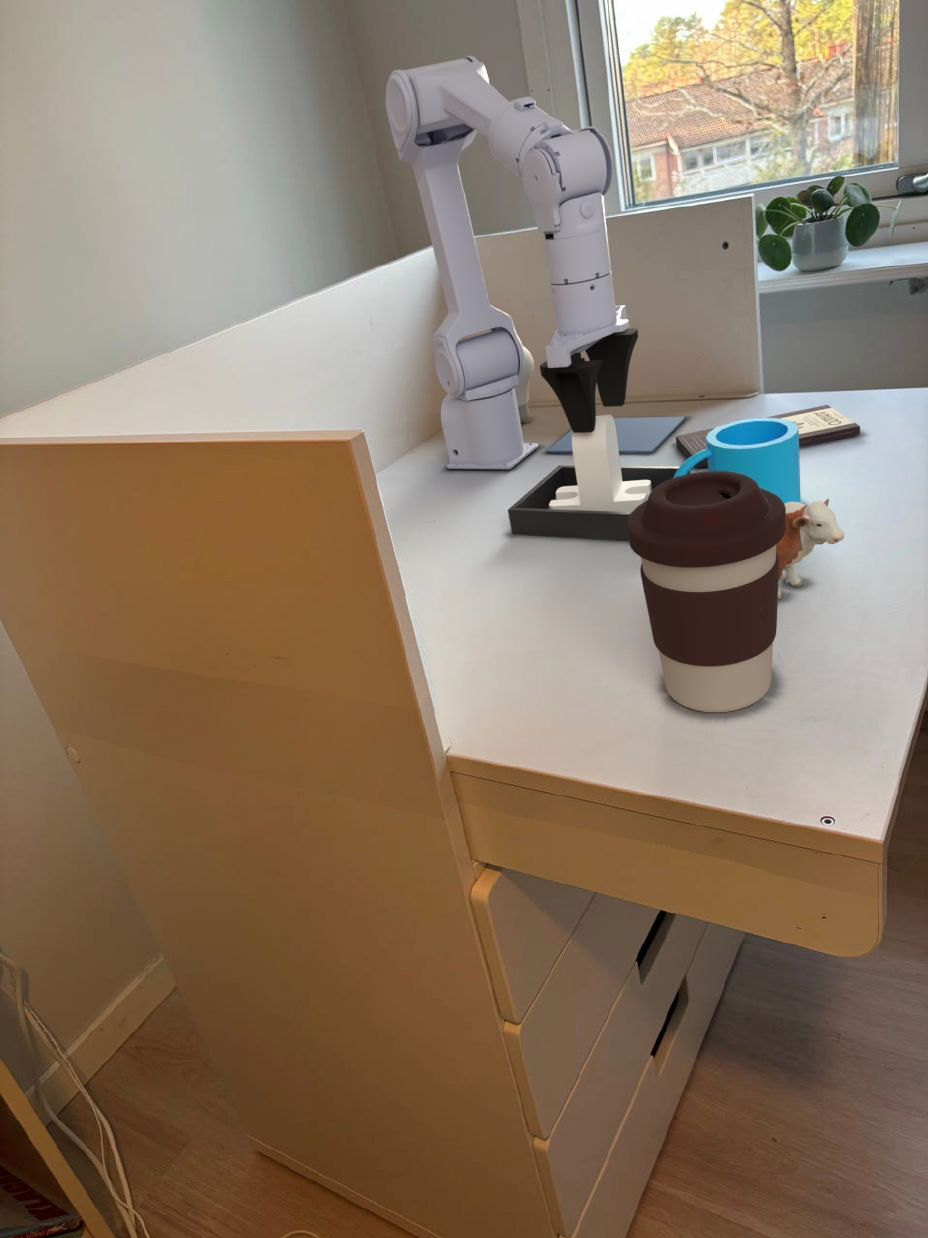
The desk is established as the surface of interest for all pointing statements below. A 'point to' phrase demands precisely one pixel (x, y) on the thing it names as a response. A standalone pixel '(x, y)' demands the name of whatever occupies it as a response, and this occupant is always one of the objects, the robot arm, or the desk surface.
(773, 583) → the coffee cup
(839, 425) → the chocolate bar
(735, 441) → the mug
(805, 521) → the bull figurine
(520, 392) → the lightbulb
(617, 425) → the cloth
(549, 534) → the tray
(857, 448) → the desk surface
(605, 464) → the cable organizer
